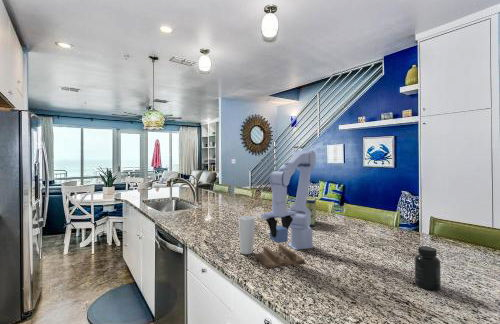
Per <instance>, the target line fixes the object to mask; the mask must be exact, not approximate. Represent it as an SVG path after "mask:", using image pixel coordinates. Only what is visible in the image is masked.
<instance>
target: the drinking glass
mask: <svg viewBox="0 0 500 324" xmlns="http://www.w3.org/2000/svg"><path fill="white" fill-rule="evenodd" d="M255 219H256V218H255V217H254V216H252V215H241V216H239V217H238V235H239V251H240V254H242V255H251V254H252V253H253V251H254V238H255V229H256V227H255V226H256V225H255V223H256V222H255V221H256V220H255Z"/></svg>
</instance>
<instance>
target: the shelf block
mask: <svg viewBox="0 0 500 324" xmlns="http://www.w3.org/2000/svg"><path fill="white" fill-rule="evenodd" d="M288 231H289V228H288V229H287V228H285V227H282V225H280V224H279V225H278V224H277V226H276V237H272V235H271V231H270V230H269V239H270V240H271V241H273V242H276V243H277V244H280V243H288V240H289V239H288V238H289V237H288V236H289V232H288Z"/></svg>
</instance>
